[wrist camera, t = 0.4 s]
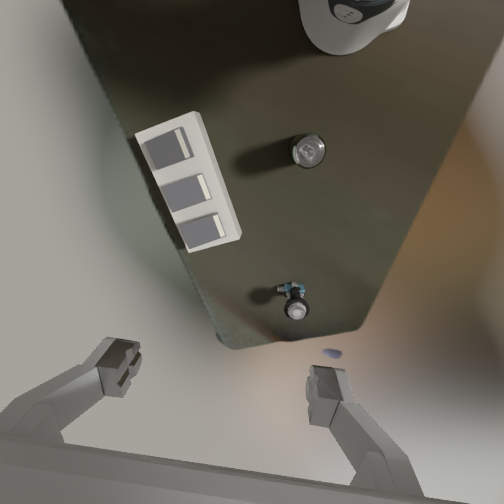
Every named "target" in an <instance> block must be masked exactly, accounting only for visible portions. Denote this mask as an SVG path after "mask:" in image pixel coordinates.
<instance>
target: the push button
mask: <svg viewBox="0 0 504 504" xmlns="http://www.w3.org/2000/svg"><path fill="white" fill-rule="evenodd" d="M293 283H295V284H293ZM279 287H280V288H279ZM279 289H280V291H282V292H284V296H285V297H287V299H288V300H287V302H286V304H285V307H284V312H285V314H286V316H287V317H289V318H291V319H294V320H300V319H303V318H305V317H306V316H307V315H308V313H309V305H308V304H307V302H306V301H305V300H304V299H303V298H304V292H305V289H304V285H303V284H297V283H296V282H292V284H285V285H284V286H282V287H281V286H278V291H279ZM304 305H305V306H306V307H305V306H304ZM287 307H288V309H287Z"/></svg>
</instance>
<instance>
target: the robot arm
mask: <svg viewBox="0 0 504 504" xmlns="http://www.w3.org/2000/svg"><path fill="white" fill-rule="evenodd" d="M409 2H410V0H298V3H299V8H300V15H301V20H302V24H303V27H304V29H305V32H306V34H307V36H308V37H309V39H310V40H311V41H312V43H313V44H314V45H315V46H316V47H318V48H319V49H320V50H322V51H324V52H326V53H329V54H333V55H346V54H350V53H353V52H356V51H358V50H360V49H362V48H363V47H365V46H366V45H367V44H369V43H370V42H371V41H372V40H373V39H375V38H376V37H377V36H378V35H380V34H381V33H385V32H388V31H390V30H393V29H395V28H397V27H398V26H399V25H400V24H401V23H402V22H403V20H404V18H405V16H406V12H407V9H408V6H409ZM139 349H140V343H139V342H137V341H131V340H125V339H119V338H112V337H107V338H105V339H103V340H102V342H101V343H100V344H99V345H98V346H97V348H96V349H95V350H94V351H93V352H92V353H91V355H90V356H89V357H88V358H87V359H86V361H85V362H84V363H83V364H82V365H77V366H75V367H73V368H71V369H69V370H67V371H65V372H64V373H62V374H60V375H58V376H56V377H54V378H52V379H51V380H49V381H47V382H45V383H43V384H41V385H39V386H37V387H36V388H34V389H32V390H30V391H28V392H26V393H24V394H22V395H20V396H19V397H17V398H15V399H14V400H13V401H12V402H11V403H10V404H9V405H8V406H7V407H6V408H5V409H4V410H3V411H2V412H1V413H0V504H468V503H462V502H455V501H448V500H441V499H434V498H428V497H425V496H424V494H423V492H422V489H421V487H420V485H419V482H418V480H417V477H416V475H415V473H414V470H413V468H412V466H411V463H410V461H409V458H408V456H407V455H406V454H405V453H404V452H403V451H402V450H401V448H400V447H399V446H398V445H397V444H396V443H395V442H394V441H393V440H392V439H391V438H390V437H389V435H388V434H387V433H386V432H385V431H384V430H383V429H382V428H381V427H380V426H379V425H378V423H377V422H376V421H375V420H374V419H373V418H372V417H371V416H370V415H369V414H368V412H367V411H366V410H365V409H364V408H363V407H362V406H361V405H360V404H358V403H356V401H355V398H354V395H353V392H352V389H351V385H350V382H349V379H348V376H347V373H346V371H345V370H344V369H339V368H332V367H324V366H316V365H311V367H310V370H309V371H310V376H309V377H307V382H306V399H307V401H308V402H309V407H308V414H309V422H310V425H316V426H321V427H327V428H329V429H330V431H331V433H332V434H333V436H334V437H335V439H336V441H337V442H338V443H339V445H340V447H341V448H342V450H343V451H344V453H345V455H346V456H347V458H348V460H349V461H350V463H351V464H352V466H353V467H354V469H355V471H356V474H355V476H354V478H353V480H352V482H351V483H350V485H349V486H347V485H341V484H334V483H327V482H321V481H314V480H307V479H301V478H294V477H287V476H281V475H273V474H268V473H261V472H254V471H247V470H240V469H234V468H228V467H221V466H214V465H208V464H201V463H194V462H187V461H181V460H174V459H167V458H160V457H153V456H147V455H140V454H134V453H127V452H120V451H113V450H107V449H100V448H93V447H87V446H80V445H74V444H66V443H64V440H63V437H62V435H61V432H60V431H61V430H62V429H64V428H65V427H66V426H67V425H69V424H70V423H71V422H73V421H74V420H75V419H76V418H77V417H79V416H80V415H81V414H83V413H84V412H85V411H87V410H88V409H89V408H90V407H92V406H93V405H94V404H95V403H97V402H98V401H99V400H101V399H102V398H103V397H104V396H112V397H122V398H123V397H124V395H125V393H126V392H127V390H128V388H129V386H130V385H131V382H130V379H131V378H133V377H134V376H136V374H137V373H138V371H139V368H140V365H141V361H142V356H141V353H140V352H139Z"/></svg>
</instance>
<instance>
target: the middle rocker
mask: <svg viewBox="0 0 504 504" xmlns="http://www.w3.org/2000/svg"><path fill="white" fill-rule="evenodd" d="M161 189H162V191H163V193H164V195H165V197H166V200H167V202H168V204H169V206H170V208H171V211H172V213H173V212H176V211H179V210H182V209H185V208H187V207H190V206H193V205H196V204H199V203H202V202H205V201H207V200H210V199H212V197H211V194H210V191H209V189H208V186H207V183H206V181H205V178H204V176H203V173H200V174H197V175H194V176H191V177H188V178H185V179H183V180H180V181H177V182H174V183H171V184H168V185H165V186H162V187H161Z"/></svg>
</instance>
